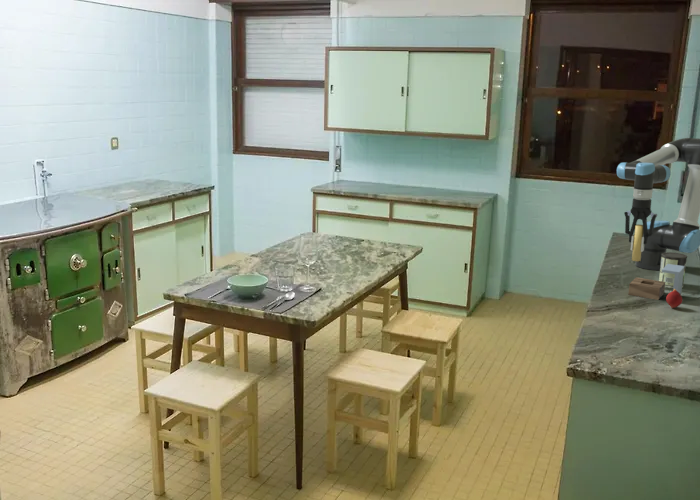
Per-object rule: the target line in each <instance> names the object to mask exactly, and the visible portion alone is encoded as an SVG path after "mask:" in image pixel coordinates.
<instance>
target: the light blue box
mask: <svg viewBox="0 0 700 500" xmlns="http://www.w3.org/2000/svg"><path fill="white" fill-rule="evenodd" d="M684 267H685V266H680V265H673V264H667V265H666V266H665V267H664V268H663V269H662V272H665V273H671V274H675V278H674V286H673V288H672V290H673V289H676V290H677V291H678V292H679V293H680V294H681V295H682V288H683V287H682V283H683V275H684ZM685 268H686V267H685ZM684 276H685V275H684ZM683 284H684V283H683Z"/></svg>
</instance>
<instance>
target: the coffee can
mask: <svg viewBox="0 0 700 500" xmlns="http://www.w3.org/2000/svg"><path fill="white" fill-rule="evenodd" d="M687 260H688V256H687V254H683V253H681V252H680V253H679V252H671V251H670V252H667V251H666V253H662V259H661V268H660V270H659V278H658V281H662V282H665V288H669V289H673V286H674V278H675V274H671V273H665V272H662V269H663V268H664V267H665V266H666V265H667V264H673V265H680V266H685V267H684V275H683V283H682V288H684V283H685V274H686V266H687Z"/></svg>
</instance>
